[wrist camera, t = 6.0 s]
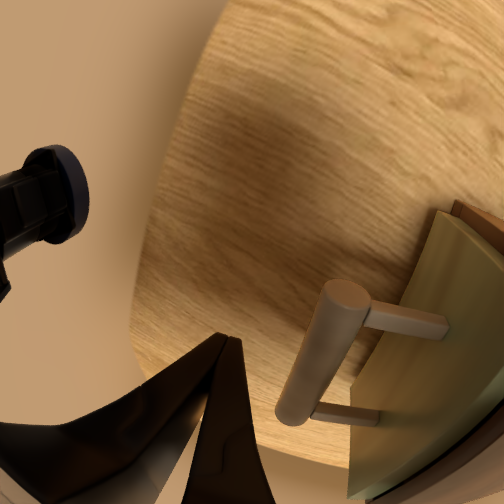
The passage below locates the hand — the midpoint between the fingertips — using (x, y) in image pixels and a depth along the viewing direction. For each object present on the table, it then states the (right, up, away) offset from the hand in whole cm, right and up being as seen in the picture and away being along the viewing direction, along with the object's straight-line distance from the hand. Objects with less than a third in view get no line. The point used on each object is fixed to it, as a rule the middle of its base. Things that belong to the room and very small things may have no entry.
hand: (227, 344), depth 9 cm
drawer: (+11, -1, +2) cm, 11 cm away
